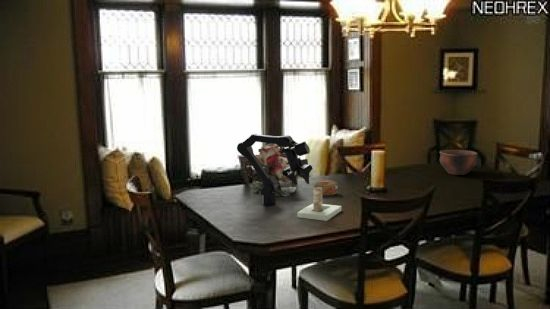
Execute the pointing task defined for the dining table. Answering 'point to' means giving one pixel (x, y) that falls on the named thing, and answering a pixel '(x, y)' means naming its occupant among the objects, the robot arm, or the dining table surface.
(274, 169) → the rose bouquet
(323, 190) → the tin
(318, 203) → the peg
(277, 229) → the dining table surface
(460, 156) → the bowl
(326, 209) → the keyhole plate
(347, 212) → the dining table surface
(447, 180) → the dining table surface
